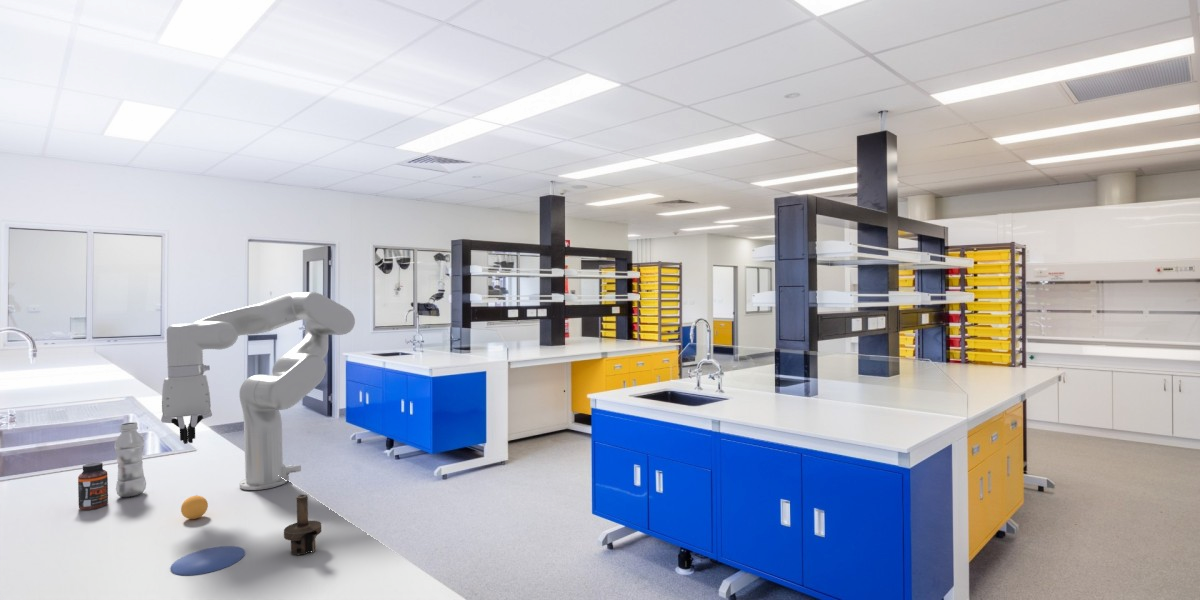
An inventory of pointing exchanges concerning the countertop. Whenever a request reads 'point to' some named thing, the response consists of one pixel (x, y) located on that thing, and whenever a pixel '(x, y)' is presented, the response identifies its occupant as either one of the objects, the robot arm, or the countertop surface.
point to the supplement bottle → (93, 486)
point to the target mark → (207, 560)
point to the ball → (194, 507)
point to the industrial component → (302, 529)
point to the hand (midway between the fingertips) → (187, 442)
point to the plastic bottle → (130, 461)
